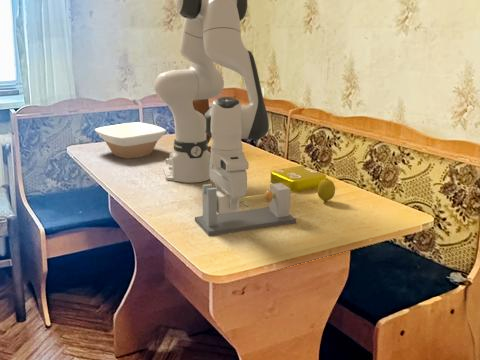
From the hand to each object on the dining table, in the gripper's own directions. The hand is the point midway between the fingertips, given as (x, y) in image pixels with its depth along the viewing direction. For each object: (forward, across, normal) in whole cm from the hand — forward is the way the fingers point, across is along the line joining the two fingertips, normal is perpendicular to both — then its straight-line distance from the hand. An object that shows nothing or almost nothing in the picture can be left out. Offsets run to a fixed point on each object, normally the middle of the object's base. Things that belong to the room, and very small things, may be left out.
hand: (226, 203), depth 167 cm
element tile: (+7, -28, +38) cm, 47 cm away
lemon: (+6, -7, +37) cm, 38 cm away
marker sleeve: (+2, 0, 0) cm, 2 cm away
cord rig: (+6, 0, +6) cm, 9 cm away
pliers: (+7, -19, +7) cm, 22 cm away
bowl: (+6, -89, -8) cm, 90 cm away
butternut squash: (+6, -87, +20) cm, 89 cm away
